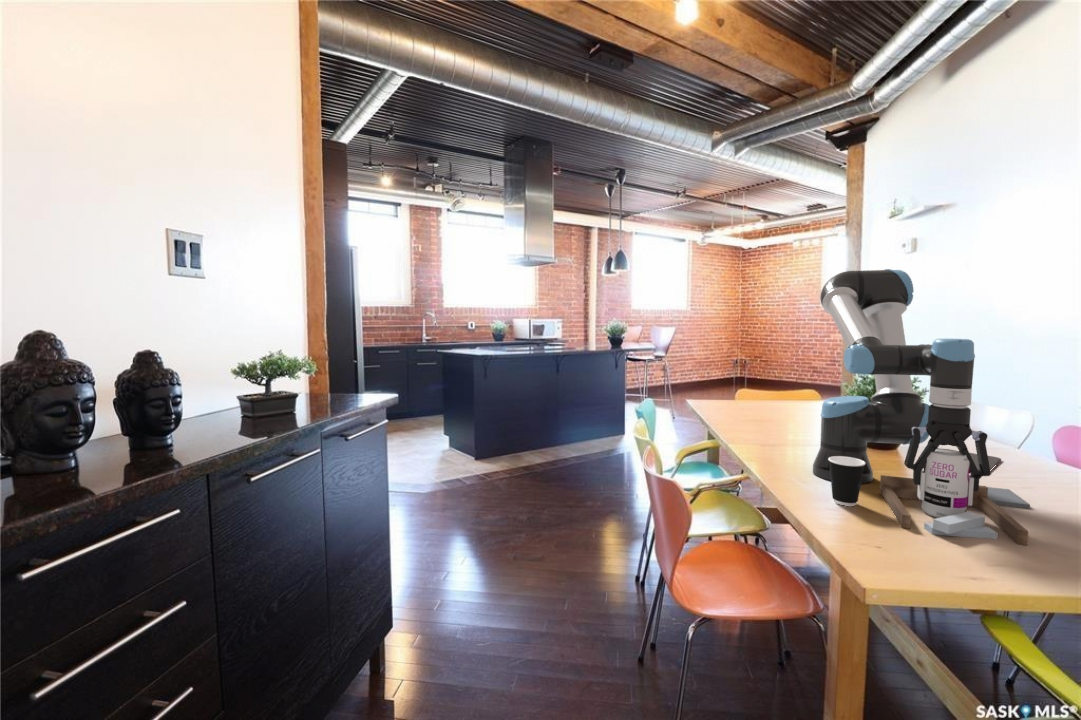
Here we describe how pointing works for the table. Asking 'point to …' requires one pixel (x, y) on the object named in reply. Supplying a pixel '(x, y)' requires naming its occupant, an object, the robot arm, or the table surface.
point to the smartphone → (991, 459)
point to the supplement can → (946, 483)
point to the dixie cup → (846, 479)
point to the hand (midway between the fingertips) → (943, 500)
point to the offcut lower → (965, 532)
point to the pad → (1006, 498)
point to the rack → (907, 489)
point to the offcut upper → (958, 522)
